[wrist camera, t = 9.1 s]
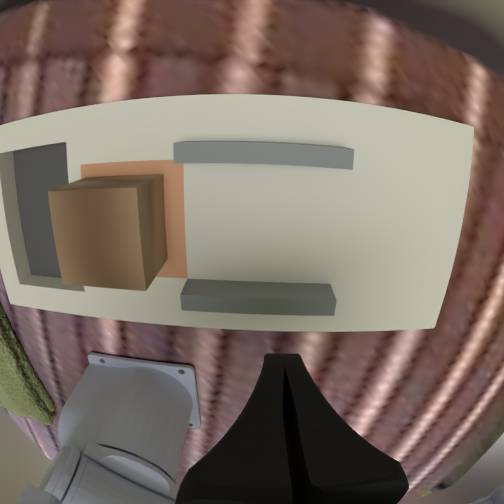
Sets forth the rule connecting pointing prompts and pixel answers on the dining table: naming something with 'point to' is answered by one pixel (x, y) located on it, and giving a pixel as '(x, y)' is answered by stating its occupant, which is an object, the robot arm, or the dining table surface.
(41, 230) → the board
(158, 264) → the walnut block
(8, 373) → the washcloth
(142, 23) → the dining table surface
